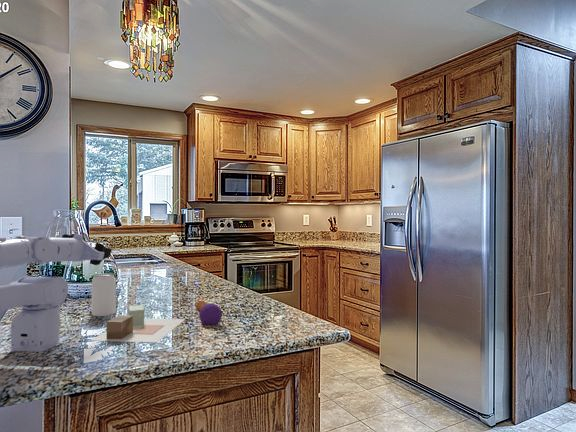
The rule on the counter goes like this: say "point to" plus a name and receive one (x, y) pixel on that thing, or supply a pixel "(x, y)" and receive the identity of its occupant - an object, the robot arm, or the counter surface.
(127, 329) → the walnut brick
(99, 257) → the robot arm
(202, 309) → the kendama
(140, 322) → the sage brick
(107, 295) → the can
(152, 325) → the baseplate
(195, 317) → the counter surface
